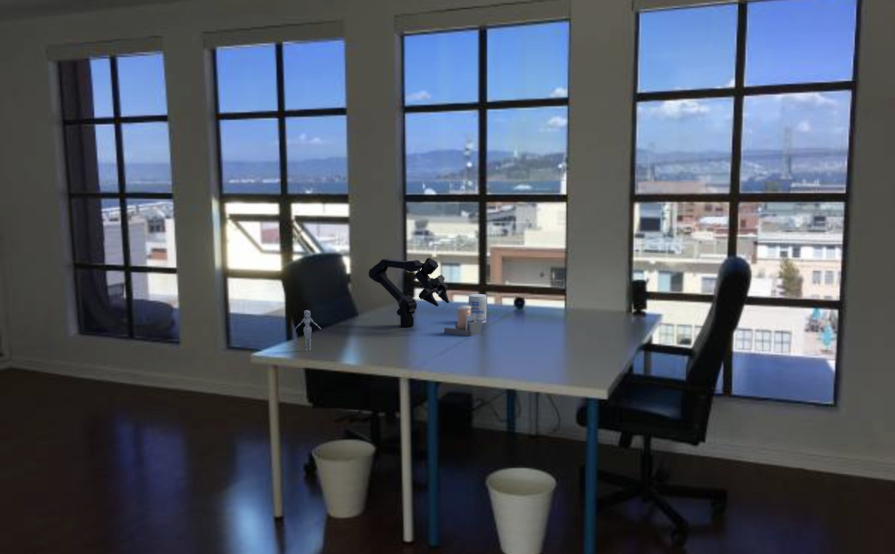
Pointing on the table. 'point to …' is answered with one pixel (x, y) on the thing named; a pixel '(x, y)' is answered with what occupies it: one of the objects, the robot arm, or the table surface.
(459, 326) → the jar
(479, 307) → the supplement tub
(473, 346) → the table surface
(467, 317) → the follower
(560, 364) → the table surface
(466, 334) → the lane
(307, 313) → the human figurine
